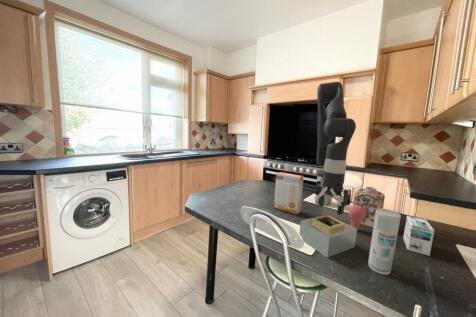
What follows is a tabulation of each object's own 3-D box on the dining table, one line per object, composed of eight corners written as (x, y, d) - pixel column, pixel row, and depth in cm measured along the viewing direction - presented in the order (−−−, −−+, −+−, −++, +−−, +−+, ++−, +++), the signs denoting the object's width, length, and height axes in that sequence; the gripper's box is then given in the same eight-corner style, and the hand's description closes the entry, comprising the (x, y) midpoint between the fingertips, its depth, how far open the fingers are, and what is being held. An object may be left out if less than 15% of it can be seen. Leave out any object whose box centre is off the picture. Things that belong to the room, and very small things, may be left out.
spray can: (369, 271, 65) (378, 214, 62) (365, 259, 70) (373, 206, 67) (393, 277, 62) (404, 218, 59) (387, 264, 68) (397, 210, 65)
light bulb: (361, 227, 94) (364, 203, 92) (365, 234, 87) (369, 209, 86) (344, 224, 96) (347, 201, 95) (347, 231, 90) (350, 206, 88)
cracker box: (300, 211, 110) (304, 175, 106) (296, 215, 105) (299, 177, 102) (278, 205, 118) (280, 171, 115) (273, 208, 114) (275, 173, 111)
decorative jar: (381, 221, 101) (386, 188, 98) (377, 229, 93) (383, 193, 90) (355, 214, 109) (359, 183, 106) (349, 221, 101) (354, 187, 98)
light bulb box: (430, 256, 73) (435, 230, 72) (407, 250, 77) (411, 224, 75) (422, 243, 82) (427, 219, 81) (402, 238, 86) (406, 215, 84)
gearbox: (325, 230, 90) (327, 211, 89) (354, 247, 78) (357, 225, 76) (299, 238, 83) (301, 217, 81) (327, 257, 71) (329, 233, 69)
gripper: (358, 173, 71) (352, 215, 74) (325, 166, 84) (321, 202, 86) (345, 175, 68) (339, 219, 70) (312, 167, 80) (309, 204, 83)
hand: (329, 210), depth 78 cm, fingers open, 8 cm apart
